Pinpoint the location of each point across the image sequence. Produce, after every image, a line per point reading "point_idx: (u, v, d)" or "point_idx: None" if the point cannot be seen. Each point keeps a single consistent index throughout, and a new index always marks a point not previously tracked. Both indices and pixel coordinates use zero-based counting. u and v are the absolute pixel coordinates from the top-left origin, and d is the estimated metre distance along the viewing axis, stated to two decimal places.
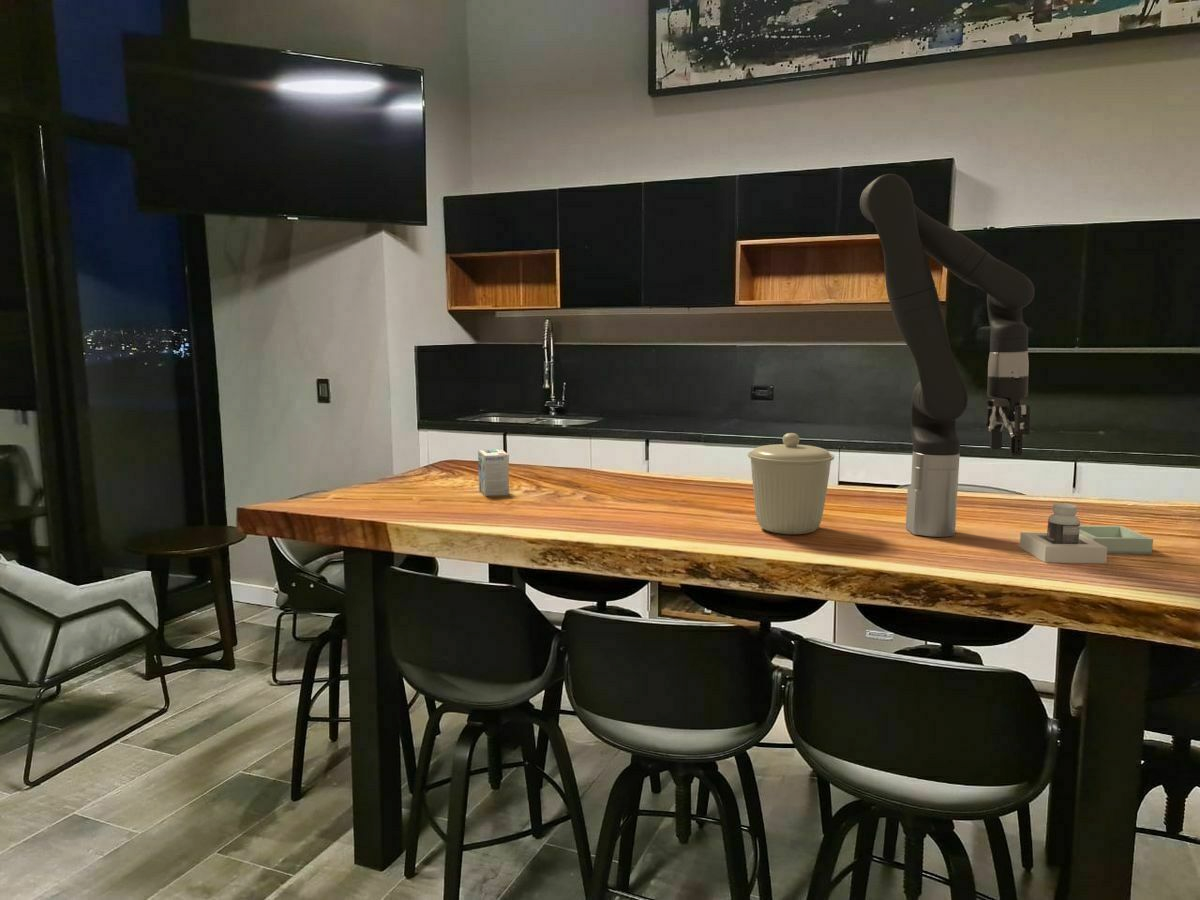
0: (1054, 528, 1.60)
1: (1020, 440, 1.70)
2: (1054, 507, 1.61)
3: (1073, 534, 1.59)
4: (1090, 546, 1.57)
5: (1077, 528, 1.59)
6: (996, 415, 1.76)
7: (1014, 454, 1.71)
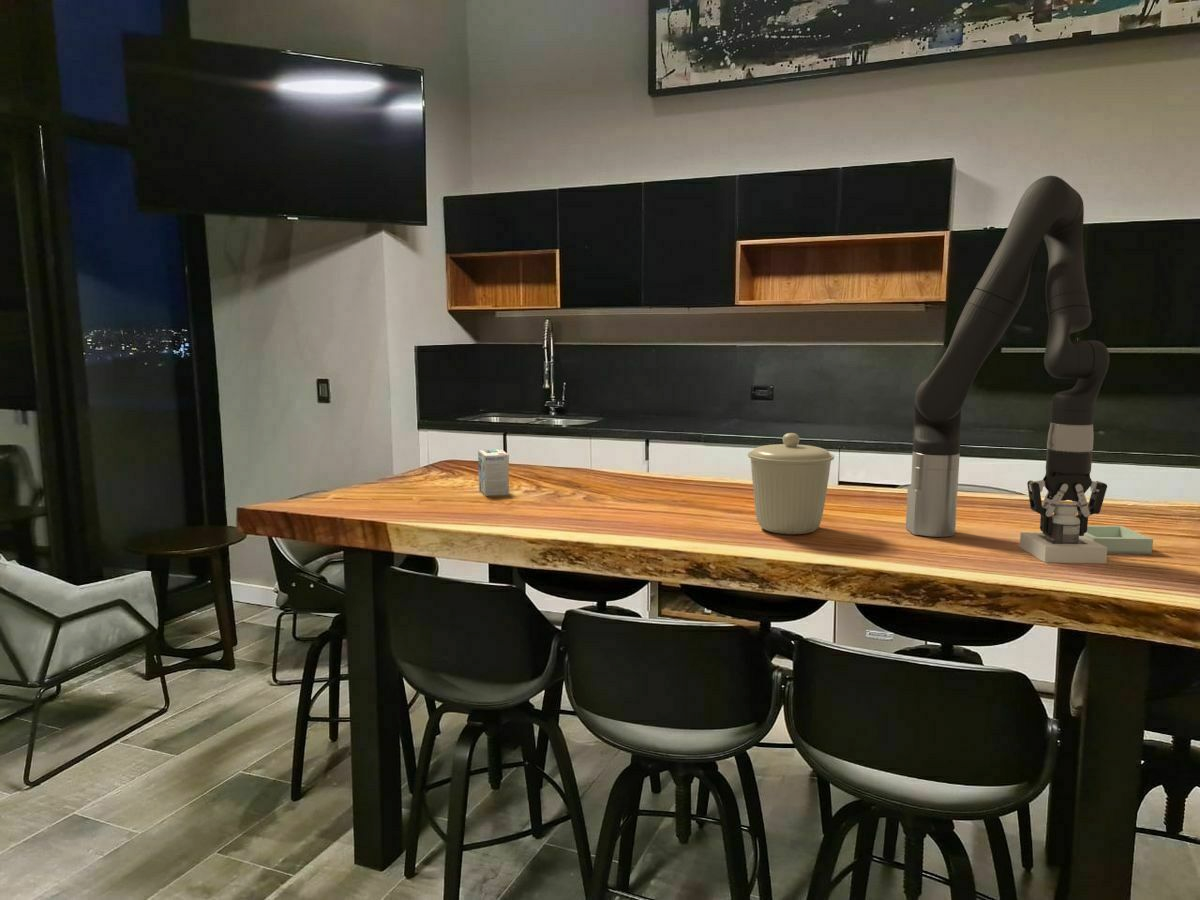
0: (1054, 528, 1.60)
1: None
2: None
3: (1073, 534, 1.59)
4: (1090, 546, 1.57)
5: (1077, 528, 1.59)
6: None
7: None
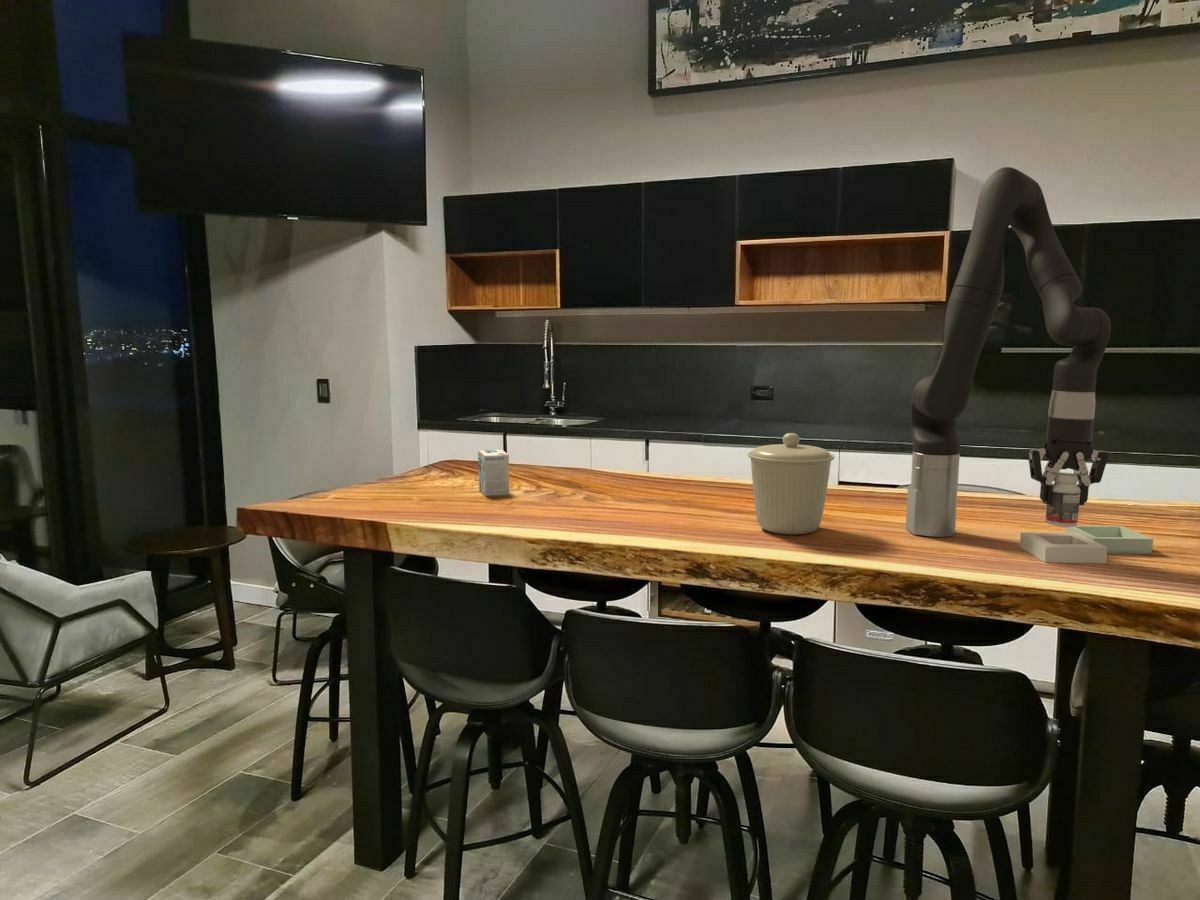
0: (1054, 496, 1.59)
1: None
2: None
3: (1073, 502, 1.58)
4: (1090, 546, 1.57)
5: (1077, 497, 1.58)
6: None
7: None
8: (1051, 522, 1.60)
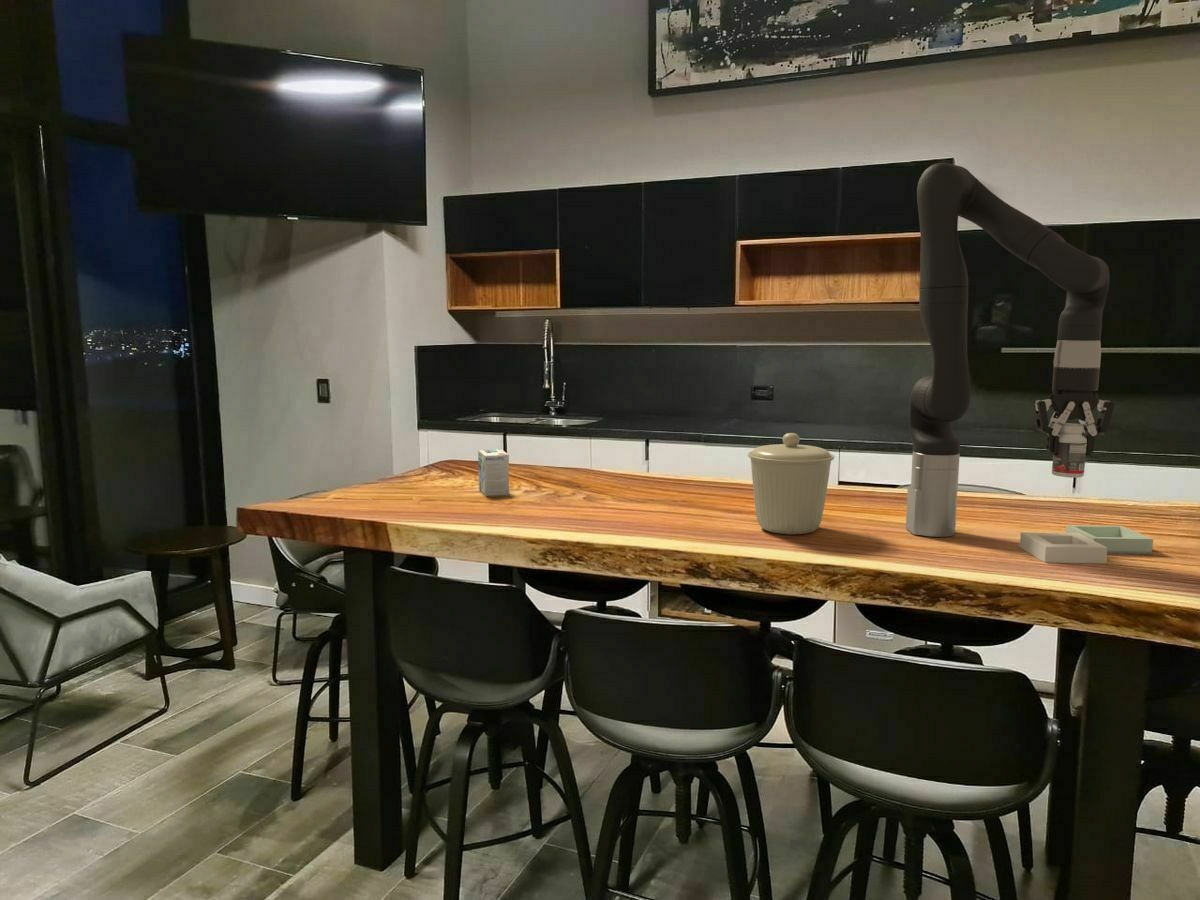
0: (1060, 447, 1.58)
1: None
2: None
3: (1080, 452, 1.57)
4: (1090, 546, 1.57)
5: (1084, 447, 1.57)
6: None
7: None
8: (1057, 473, 1.59)
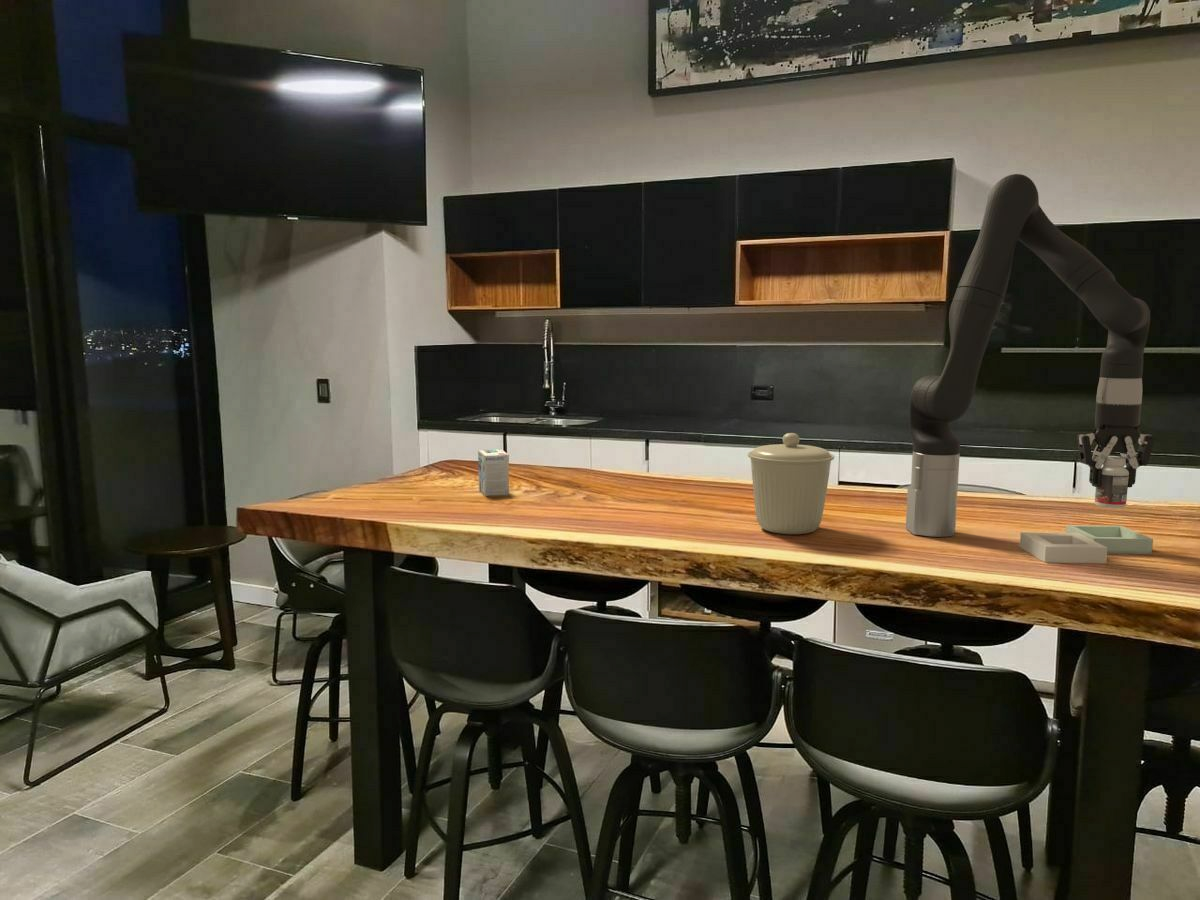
0: (1104, 479, 1.66)
1: None
2: None
3: (1122, 484, 1.64)
4: (1090, 546, 1.57)
5: (1126, 479, 1.65)
6: None
7: None
8: (1101, 504, 1.67)
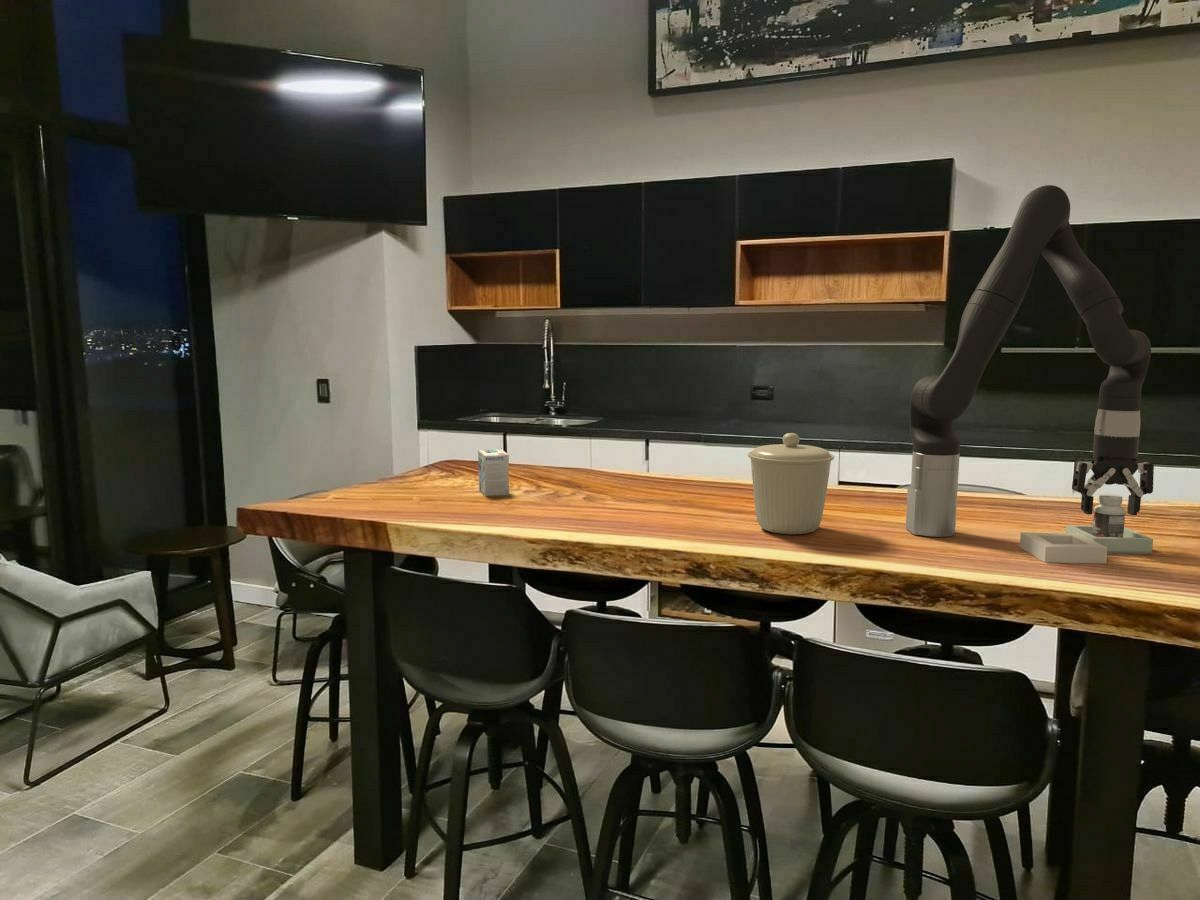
0: (1100, 518, 1.66)
1: None
2: (1100, 498, 1.67)
3: (1119, 523, 1.65)
4: (1090, 546, 1.57)
5: (1123, 518, 1.65)
6: None
7: None
8: None
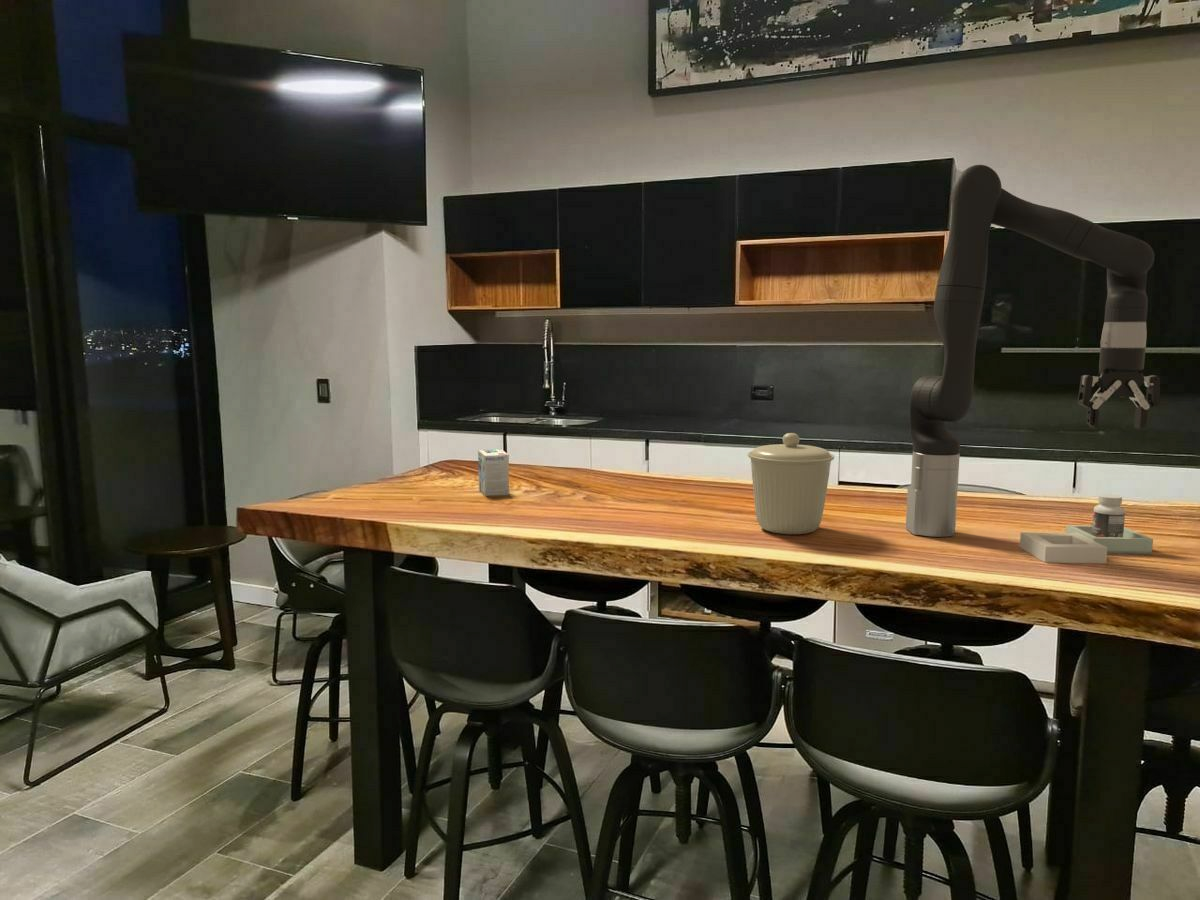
0: (1100, 518, 1.66)
1: None
2: (1100, 498, 1.67)
3: (1118, 523, 1.65)
4: (1090, 546, 1.57)
5: (1122, 518, 1.65)
6: None
7: None
8: None
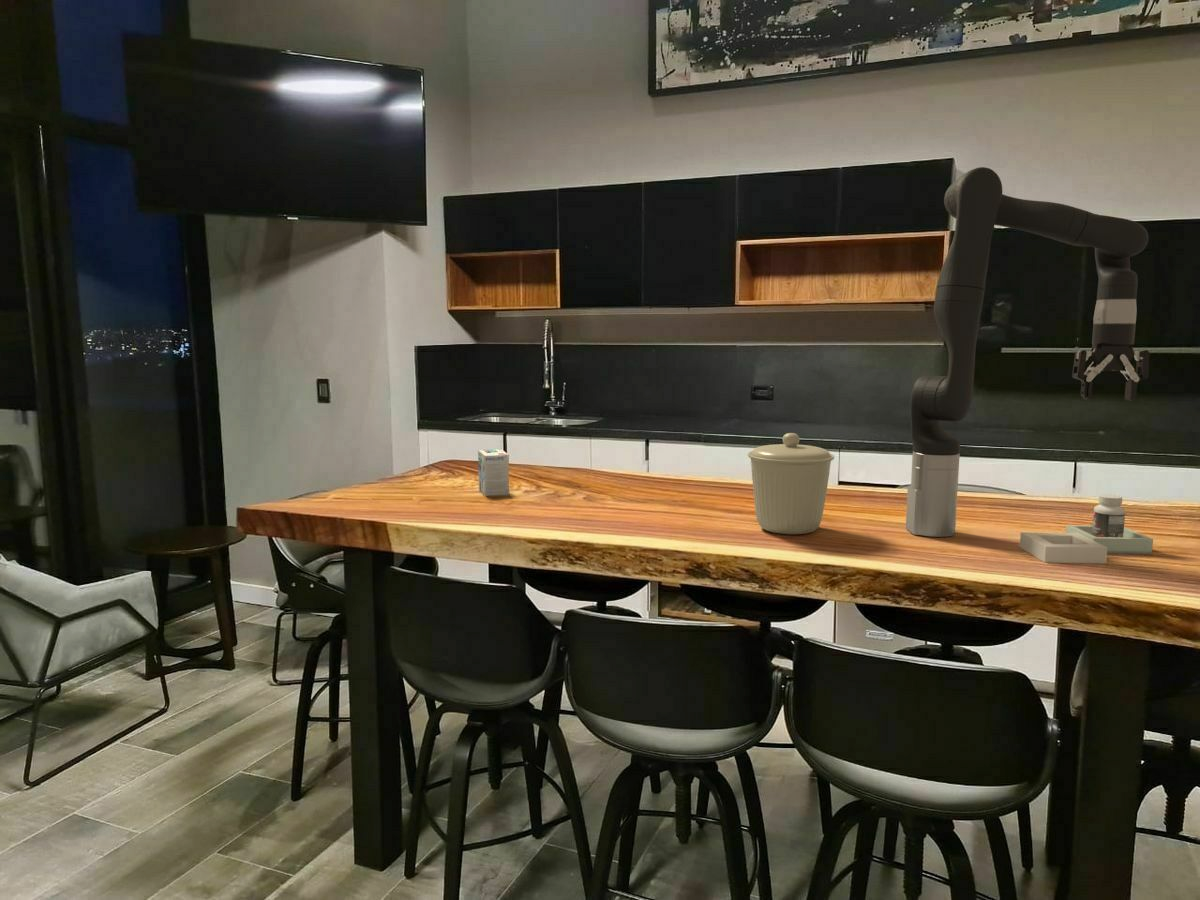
0: (1100, 518, 1.66)
1: None
2: (1100, 498, 1.67)
3: (1118, 523, 1.65)
4: (1090, 546, 1.57)
5: (1122, 518, 1.65)
6: None
7: None
8: None
